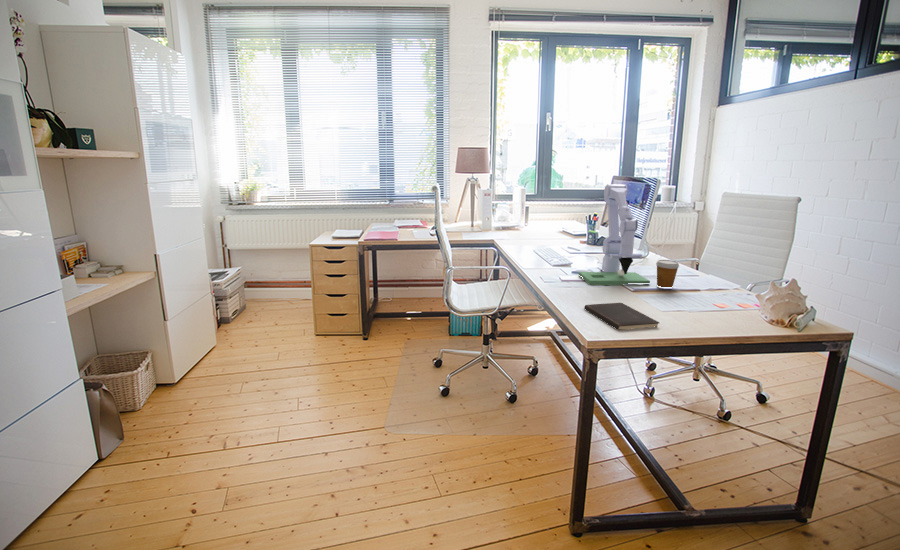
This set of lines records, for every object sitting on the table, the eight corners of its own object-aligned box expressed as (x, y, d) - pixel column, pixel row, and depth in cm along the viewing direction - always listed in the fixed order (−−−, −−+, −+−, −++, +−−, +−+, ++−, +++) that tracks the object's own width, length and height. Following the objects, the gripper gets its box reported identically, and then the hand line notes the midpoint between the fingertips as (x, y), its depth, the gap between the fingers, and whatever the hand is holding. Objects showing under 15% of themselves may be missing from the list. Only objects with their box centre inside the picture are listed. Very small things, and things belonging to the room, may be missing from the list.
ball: (623, 273, 227) (617, 277, 226) (620, 267, 225) (614, 271, 225) (627, 275, 223) (621, 279, 223) (625, 269, 222) (619, 273, 222)
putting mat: (578, 276, 232) (579, 272, 232) (634, 276, 234) (635, 272, 233) (589, 284, 217) (590, 280, 216) (649, 285, 218) (650, 280, 218)
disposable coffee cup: (679, 290, 210) (683, 264, 207) (658, 290, 210) (661, 263, 207) (670, 285, 219) (674, 259, 216) (649, 284, 219) (652, 259, 216)
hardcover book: (620, 308, 187) (621, 302, 186) (658, 328, 165) (659, 322, 165) (583, 310, 183) (584, 304, 183) (617, 332, 162) (618, 325, 161)
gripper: (615, 246, 216) (612, 275, 219) (646, 246, 217) (643, 275, 220) (609, 244, 223) (606, 272, 226) (639, 244, 224) (636, 272, 227)
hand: (624, 273), depth 224 cm, fingers closed, pressing on ball
